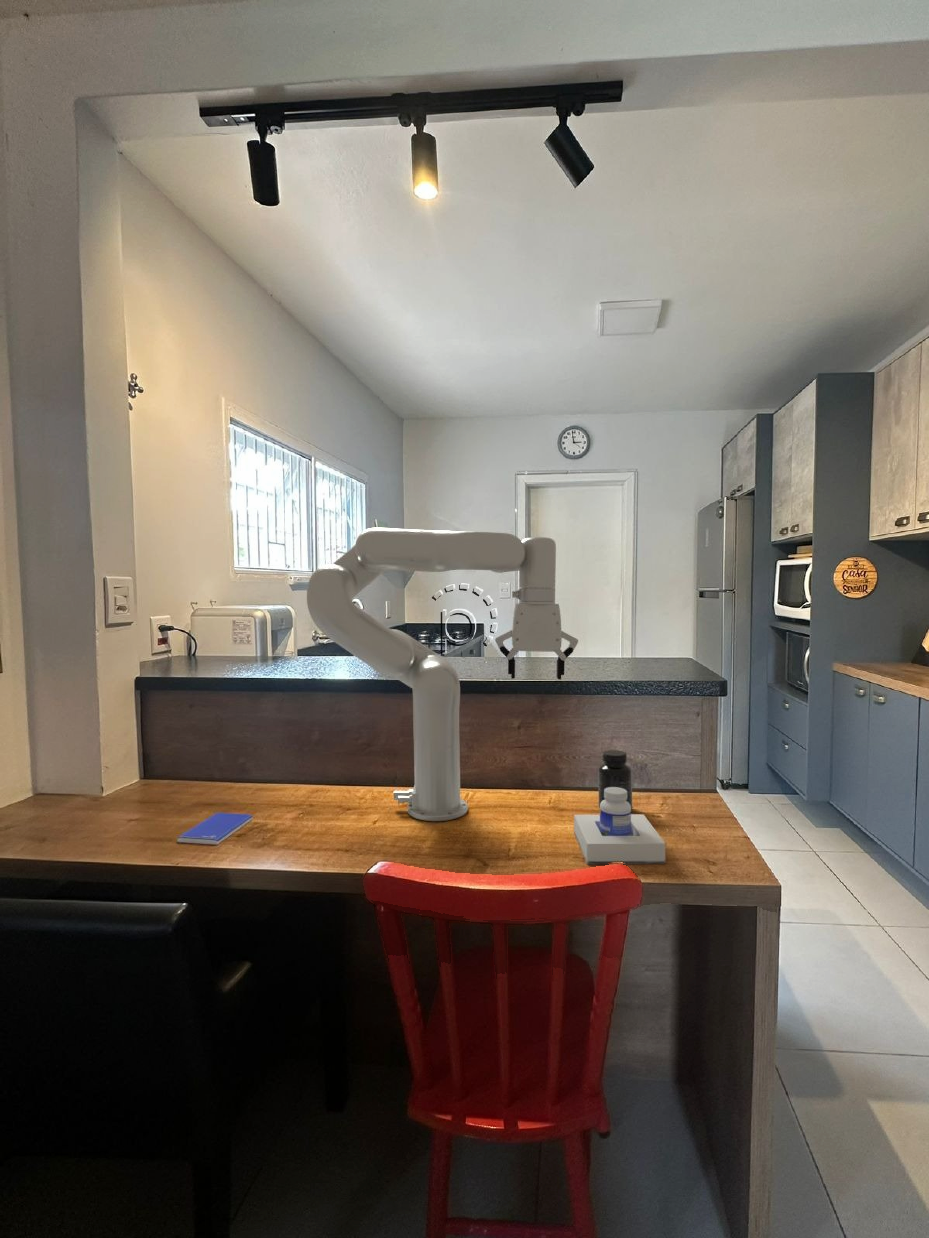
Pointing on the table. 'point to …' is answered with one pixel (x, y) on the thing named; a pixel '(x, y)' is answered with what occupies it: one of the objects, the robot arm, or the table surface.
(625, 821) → the pill bottle
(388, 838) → the table surface
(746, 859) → the table surface
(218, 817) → the hard drive
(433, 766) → the robot arm
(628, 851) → the housing
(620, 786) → the supplement bottle
